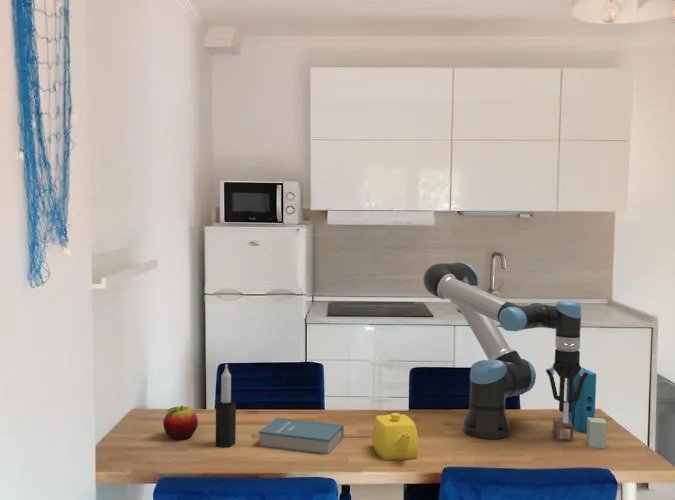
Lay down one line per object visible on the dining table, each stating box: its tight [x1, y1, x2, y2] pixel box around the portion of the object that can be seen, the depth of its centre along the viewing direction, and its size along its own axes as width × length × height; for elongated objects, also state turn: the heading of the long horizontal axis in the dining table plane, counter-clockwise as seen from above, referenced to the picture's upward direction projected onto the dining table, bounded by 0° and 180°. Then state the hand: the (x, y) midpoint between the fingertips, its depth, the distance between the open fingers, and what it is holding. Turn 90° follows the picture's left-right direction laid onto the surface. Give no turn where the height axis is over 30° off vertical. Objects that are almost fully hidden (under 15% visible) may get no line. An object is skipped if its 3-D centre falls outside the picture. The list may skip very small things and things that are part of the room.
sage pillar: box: [585, 417, 608, 449], centre depth 207 cm, size 5×5×8 cm
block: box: [565, 366, 597, 433], centre depth 225 cm, size 12×5×20 cm, turn 8°
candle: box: [215, 364, 237, 448], centre depth 201 cm, size 5×5×25 cm
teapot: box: [372, 412, 419, 461], centre depth 197 cm, size 20×12×12 cm, turn 12°
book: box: [258, 417, 345, 455], centre depth 205 cm, size 23×16×5 cm
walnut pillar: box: [552, 417, 574, 442], centre depth 215 cm, size 5×5×9 cm
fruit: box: [163, 405, 199, 440], centre depth 208 cm, size 11×11×10 cm
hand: (565, 421), depth 210 cm, fingers closed
